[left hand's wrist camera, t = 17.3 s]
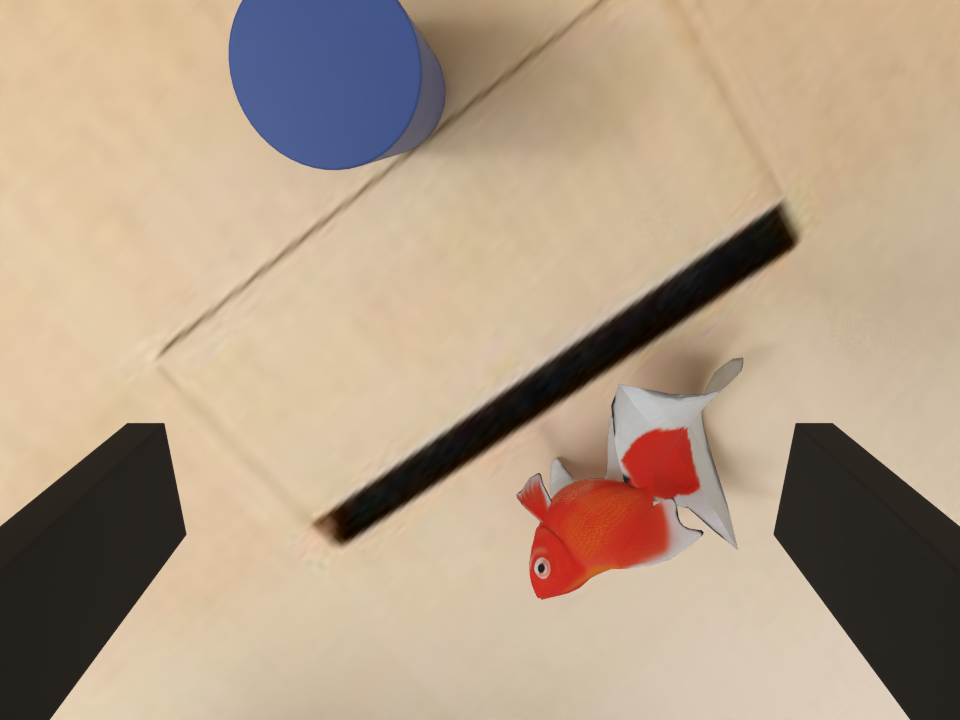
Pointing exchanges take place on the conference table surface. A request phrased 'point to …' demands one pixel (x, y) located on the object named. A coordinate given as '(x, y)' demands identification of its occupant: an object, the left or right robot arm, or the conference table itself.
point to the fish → (631, 492)
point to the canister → (335, 79)
